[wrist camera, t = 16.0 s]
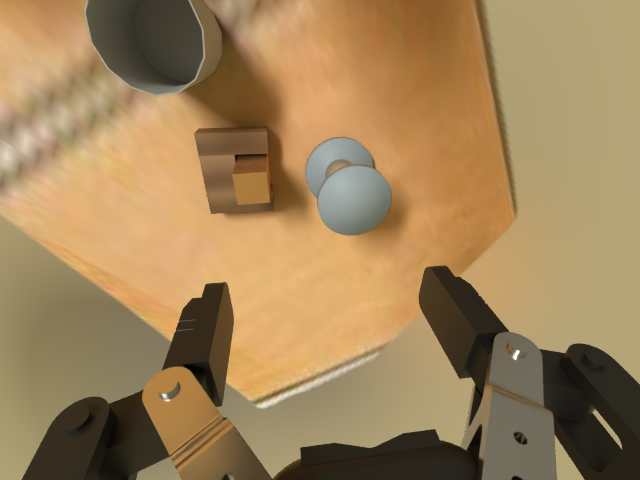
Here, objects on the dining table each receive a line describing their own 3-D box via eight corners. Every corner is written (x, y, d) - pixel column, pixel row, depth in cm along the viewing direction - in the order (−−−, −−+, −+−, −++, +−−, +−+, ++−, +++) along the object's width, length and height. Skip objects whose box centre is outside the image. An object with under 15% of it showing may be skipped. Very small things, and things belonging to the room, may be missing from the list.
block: (239, 151, 39) (232, 174, 32) (267, 150, 39) (266, 172, 32) (243, 178, 41) (237, 205, 34) (270, 176, 41) (270, 202, 34)
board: (198, 128, 37) (194, 133, 35) (267, 126, 38) (266, 131, 35) (214, 205, 42) (211, 213, 40) (273, 202, 43) (273, 210, 41)
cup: (239, 39, 33) (227, 37, 24) (193, 100, 35) (168, 117, 27) (165, -38, 29) (120, -72, 20) (119, 36, 31) (62, 33, 23)
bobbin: (304, 138, 39) (313, 164, 30) (374, 136, 40) (401, 160, 31) (306, 203, 44) (314, 241, 35) (368, 200, 45) (390, 236, 36)
